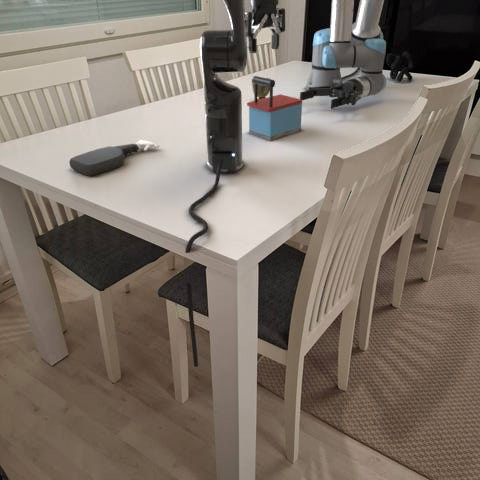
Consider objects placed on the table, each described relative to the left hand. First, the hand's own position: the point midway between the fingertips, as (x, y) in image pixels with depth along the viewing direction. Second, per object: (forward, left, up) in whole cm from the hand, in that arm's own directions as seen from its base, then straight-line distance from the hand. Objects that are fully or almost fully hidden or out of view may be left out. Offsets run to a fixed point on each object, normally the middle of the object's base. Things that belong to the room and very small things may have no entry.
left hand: (264, 50), depth 127 cm
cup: (+41, +1, -25) cm, 48 cm away
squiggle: (+75, -61, -25) cm, 100 cm away
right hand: (+16, -18, -18) cm, 30 cm away
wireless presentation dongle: (-20, +41, -25) cm, 52 cm away
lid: (+3, -3, -16) cm, 17 cm away
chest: (+4, -4, -25) cm, 25 cm away
